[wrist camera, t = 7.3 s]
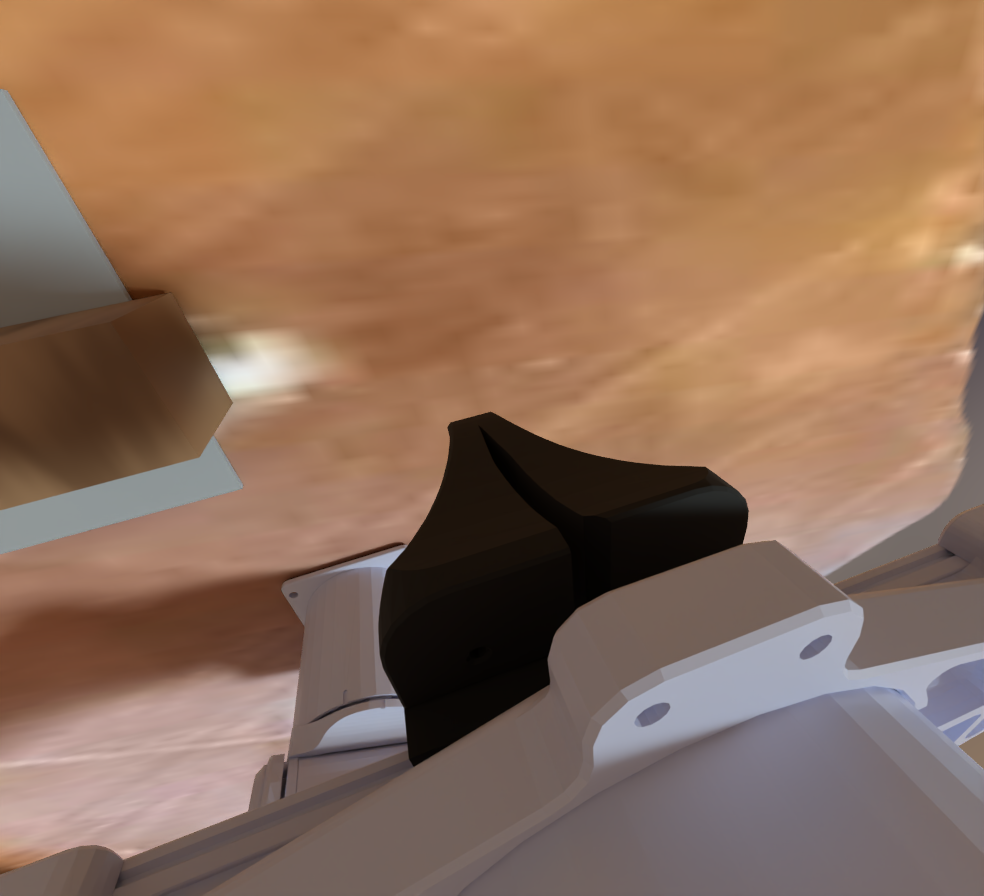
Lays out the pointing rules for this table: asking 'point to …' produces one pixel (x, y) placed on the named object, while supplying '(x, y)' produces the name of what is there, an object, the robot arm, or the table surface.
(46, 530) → the rubber mat
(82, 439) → the walnut block
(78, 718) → the table surface
